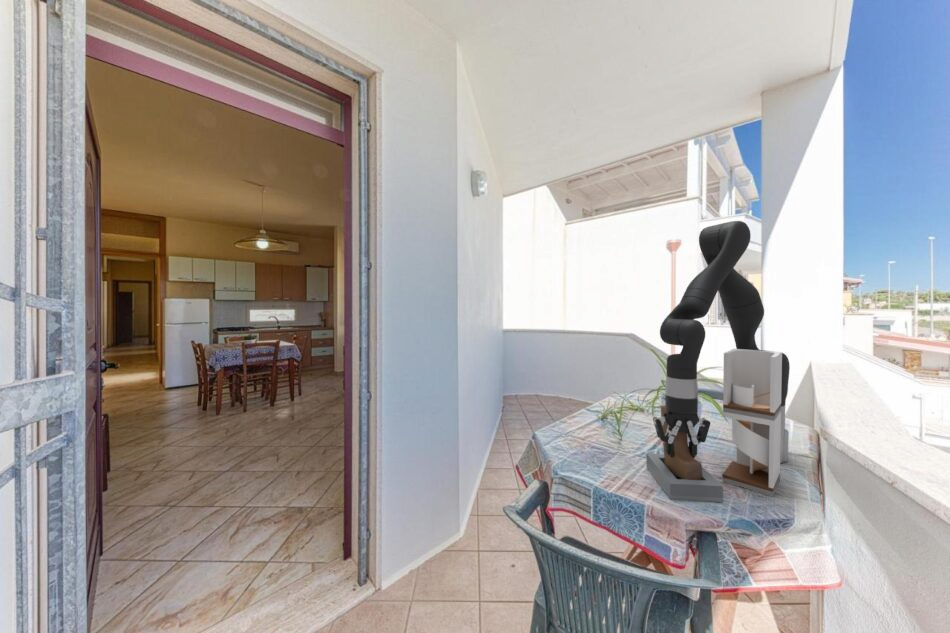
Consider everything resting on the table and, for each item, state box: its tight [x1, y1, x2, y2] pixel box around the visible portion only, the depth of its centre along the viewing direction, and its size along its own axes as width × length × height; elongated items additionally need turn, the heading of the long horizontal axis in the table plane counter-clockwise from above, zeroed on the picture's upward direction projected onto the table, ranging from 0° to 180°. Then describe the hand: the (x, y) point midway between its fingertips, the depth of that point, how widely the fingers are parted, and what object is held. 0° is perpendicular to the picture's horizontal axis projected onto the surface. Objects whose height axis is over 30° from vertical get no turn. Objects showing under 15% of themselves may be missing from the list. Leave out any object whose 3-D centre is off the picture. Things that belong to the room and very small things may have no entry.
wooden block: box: [660, 405, 703, 480], centre depth 97 cm, size 9×4×18 cm, turn 7°
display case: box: [721, 348, 783, 498], centre depth 96 cm, size 11×11×35 cm
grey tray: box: [646, 453, 724, 503], centre depth 97 cm, size 12×18×4 cm
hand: (680, 456), depth 96 cm, fingers closed on wooden block, 4 cm apart
